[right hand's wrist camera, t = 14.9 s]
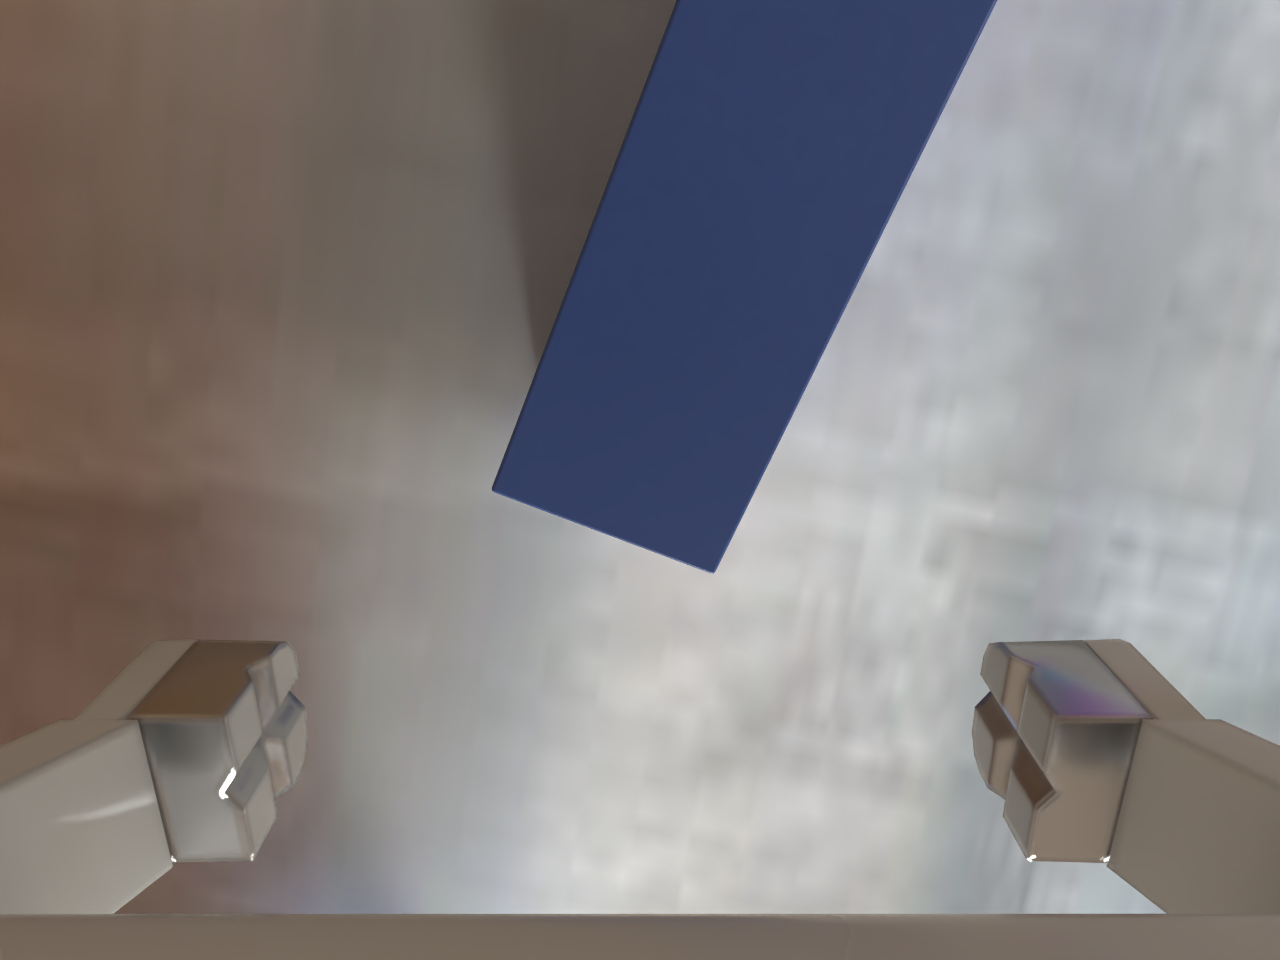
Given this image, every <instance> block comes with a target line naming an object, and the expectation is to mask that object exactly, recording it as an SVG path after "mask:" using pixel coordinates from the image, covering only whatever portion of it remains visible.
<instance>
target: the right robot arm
mask: <svg viewBox="0 0 1280 960" xmlns="http://www.w3.org/2000/svg"><path fill="white" fill-rule="evenodd" d="M299 675H300V673H299V668H298V663H297V658H296V653H295V649H294V648H293V647H292V646H291V645H290V644H289V643H288V642H287V641H241V640H199V639H178V640H159V641H153V642H151V643H150V644H149V645H148V646H147V647H146V648H145V649H144V650H143V651H142V652H141V653H140V654H139V655H138V656H137V657H136V658H135V659H134V660H133V661H132V662H131V663H130V664H129V665H128V666H127V667H126V668H125V669H124V670H123V671H122V672H121V673H120V674H119V675H118V676H117V677H116V678H115V679H114V680H113V681H112V682H111V683H110V684H109V685H108V686H107V687H106V688H105V689H104V690H103V691H102V692H101V693H100V694H99V695H98V696H97V697H96V698H95V699H94V700H93V701H92V702H91V703H90V704H89V705H88V706H87V707H86V708H85V709H84V710H83V711H82V712H81V713H80V714H79V715H78V716H77V717H76V718H75V719H69V720H58V721H55V722H53V723H51V724H49V725H46V726H44V727H42V728H40V729H37V730H35V731H33V732H31V733H28V734H26V735H24V736H22V737H19V738H17V739H15V740H13V741H10V742H8V743H6V744H3V745H1V746H0V960H1280V746H1279V745H1276V744H1274V743H1272V742H1270V741H1267V740H1265V739H1263V738H1261V737H1258V736H1256V735H1254V734H1252V733H1249V732H1247V731H1245V730H1243V729H1240V728H1238V727H1236V726H1234V725H1231V724H1229V723H1227V722H1225V721H1222V720H1211V719H1205V718H1204V717H1203V716H1202V715H1201V714H1200V713H1199V712H1198V711H1197V710H1196V709H1195V708H1194V707H1193V706H1192V705H1191V704H1190V703H1189V702H1188V701H1187V700H1186V699H1185V698H1184V697H1183V696H1182V695H1181V694H1180V693H1179V692H1178V691H1177V690H1176V689H1175V688H1174V687H1173V686H1172V685H1171V684H1170V683H1169V682H1168V681H1167V680H1166V679H1165V678H1164V677H1163V676H1162V675H1161V674H1160V673H1159V672H1158V671H1157V670H1156V669H1155V668H1154V667H1153V666H1152V665H1151V664H1150V663H1149V662H1148V661H1147V660H1146V659H1145V658H1144V657H1143V656H1142V655H1141V653H1140V652H1139V651H1138V650H1137V649H1136V648H1135V647H1134V646H1133V645H1132V644H1131V643H1129V642H1126V641H1123V640H1121V639H1101V640H1072V641H1031V642H997V643H989V645H988V647H987V649H986V651H985V654H984V656H983V662H982V667H981V673H980V675H981V676H982V678H983V679H984V681H985V683H986V684H987V686H988V687H989V689H990V692H989V693H988V694H987V695H986V696H985V697H984V698H983V699H982V700H981V701H980V702H979V703H978V704H977V705H976V706H975V711H974V720H973V728H972V737H973V747H974V756H975V759H976V763H977V766H978V769H979V772H980V774H981V776H982V778H983V780H984V782H985V784H986V786H987V788H988V789H990V790H991V791H993V792H994V793H996V794H997V795H999V796H1001V797H1002V798H1004V799H1005V805H1004V811H1003V818H1004V819H1005V821H1006V823H1007V825H1008V827H1009V829H1010V830H1011V832H1012V834H1013V836H1014V838H1015V839H1016V841H1017V843H1018V845H1019V847H1020V849H1021V850H1022V852H1023V854H1024V856H1025V858H1026V859H1027V861H1055V862H1092V863H1108V864H1107V867H1108V868H1109V869H1111V870H1112V871H1113V872H1115V873H1116V874H1117V875H1118V876H1120V877H1121V878H1122V879H1123V880H1125V881H1126V882H1127V883H1129V884H1130V885H1131V886H1132V887H1134V888H1135V889H1136V890H1137V891H1139V892H1140V893H1141V894H1143V895H1144V896H1145V897H1146V898H1148V899H1149V900H1150V901H1151V902H1153V903H1154V904H1155V905H1157V906H1158V907H1159V908H1160V909H1162V910H1163V911H1164V912H1166V913H1167V914H113V913H115V912H116V911H117V910H119V909H120V908H121V907H122V906H124V905H125V904H126V903H128V902H129V901H130V900H131V899H133V898H134V897H135V896H136V895H138V894H139V893H140V892H142V891H143V890H144V889H145V888H147V887H148V886H149V885H151V884H152V883H153V882H154V881H156V880H157V879H158V878H159V877H161V876H162V875H163V874H165V873H166V872H167V871H168V870H170V869H171V868H172V867H173V864H172V863H188V862H223V861H253V860H254V858H255V856H256V854H257V852H258V851H259V849H260V847H261V845H262V843H263V841H264V840H265V838H266V836H267V834H268V832H269V830H270V829H271V827H272V825H273V823H274V821H275V819H276V818H277V811H276V805H275V799H276V798H278V797H279V796H281V795H283V794H284V793H286V792H287V791H289V790H290V789H292V788H293V786H294V784H295V782H296V780H297V778H298V776H299V774H300V772H301V770H302V766H303V762H304V758H305V753H306V749H307V731H308V724H307V718H306V711H305V706H304V705H303V704H302V703H301V702H300V701H299V700H298V699H297V698H296V697H295V696H294V695H293V694H292V693H291V692H290V689H291V687H292V686H293V684H294V683H295V681H296V679H297V678H298V676H299Z"/></svg>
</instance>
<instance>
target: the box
mask: <svg viewBox="0 0 1280 960" xmlns="http://www.w3.org/2000/svg"><path fill="white" fill-rule="evenodd" d="M996 2H997V0H677V1H676V4H675V7H674V9H673V12H672V15H671V17H670V20H669V23H668V25H667V28H666V30H665V33H664V36H663V38H662V41H661V44H660V46H659V49H658V51H657V54H656V57H655V59H654V62H653V65H652V67H651V70H650V73H649V75H648V78H647V80H646V83H645V86H644V88H643V91H642V94H641V96H640V99H639V102H638V104H637V107H636V109H635V112H634V115H633V117H632V120H631V123H630V125H629V128H628V131H627V133H626V136H625V138H624V141H623V144H622V146H621V149H620V152H619V154H618V157H617V160H616V162H615V165H614V167H613V170H612V173H611V175H610V178H609V181H608V183H607V186H606V188H605V191H604V194H603V196H602V199H601V202H600V204H599V207H598V210H597V212H596V215H595V217H594V220H593V223H592V225H591V228H590V231H589V233H588V236H587V239H586V241H585V244H584V246H583V249H582V252H581V254H580V257H579V260H578V262H577V265H576V268H575V270H574V273H573V275H572V278H571V281H570V283H569V286H568V289H567V291H566V294H565V296H564V299H563V302H562V304H561V307H560V310H559V312H558V315H557V318H556V320H555V323H554V325H553V328H552V331H551V333H550V336H549V339H548V341H547V344H546V347H545V349H544V352H543V354H542V357H541V360H540V362H539V365H538V368H537V370H536V373H535V376H534V378H533V381H532V383H531V386H530V389H529V391H528V394H527V397H526V399H525V402H524V405H523V407H522V410H521V412H520V415H519V418H518V420H517V423H516V426H515V428H514V431H513V433H512V436H511V439H510V441H509V444H508V447H507V449H506V452H505V455H504V457H503V460H502V462H501V465H500V468H499V470H498V473H497V476H496V478H495V481H494V484H493V486H492V491H494V492H495V493H498V494H501V495H503V496H506V497H509V498H511V499H514V500H517V501H519V502H522V503H525V504H527V505H530V506H533V507H535V508H538V509H541V510H543V511H546V512H549V513H551V514H554V515H557V516H559V517H562V518H565V519H567V520H570V521H573V522H575V523H578V524H581V525H583V526H586V527H589V528H591V529H594V530H597V531H599V532H602V533H605V534H607V535H610V536H613V537H615V538H618V539H621V540H623V541H626V542H629V543H631V544H634V545H637V546H639V547H642V548H645V549H647V550H650V551H653V552H655V553H658V554H661V555H663V556H666V557H669V558H671V559H674V560H677V561H679V562H682V563H685V564H687V565H690V566H693V567H695V568H698V569H701V570H703V571H706V572H709V573H712V574H713V573H714V572H715V571H716V569H717V567H718V565H719V563H720V561H721V559H722V557H723V555H724V553H725V551H726V549H727V547H728V545H729V543H730V541H731V539H732V537H733V535H734V533H735V531H736V529H737V527H738V525H739V522H740V520H741V518H742V516H743V514H744V512H745V510H746V508H747V506H748V504H749V502H750V500H751V498H752V496H753V494H754V492H755V490H756V488H757V486H758V484H759V482H760V480H761V478H762V476H763V474H764V472H765V470H766V468H767V466H768V464H769V462H770V460H771V458H772V456H773V454H774V452H775V450H776V448H777V445H778V443H779V441H780V439H781V437H782V435H783V433H784V431H785V429H786V427H787V425H788V423H789V421H790V419H791V417H792V415H793V413H794V411H795V409H796V407H797V405H798V403H799V401H800V399H801V397H802V395H803V393H804V391H805V389H806V387H807V385H808V383H809V381H810V379H811V377H812V375H813V373H814V371H815V368H816V366H817V364H818V362H819V360H820V358H821V356H822V354H823V352H824V350H825V348H826V346H827V344H828V342H829V340H830V338H831V336H832V334H833V332H834V330H835V328H836V326H837V324H838V322H839V320H840V318H841V316H842V314H843V312H844V310H845V308H846V306H847V304H848V302H849V300H850V298H851V296H852V294H853V291H854V289H855V287H856V285H857V283H858V281H859V279H860V277H861V275H862V273H863V271H864V269H865V267H866V265H867V263H868V261H869V259H870V257H871V255H872V253H873V251H874V249H875V247H876V245H877V243H878V241H879V239H880V237H881V235H882V233H883V231H884V229H885V227H886V225H887V223H888V221H889V219H890V217H891V214H892V212H893V210H894V208H895V206H896V204H897V202H898V200H899V198H900V196H901V194H902V192H903V190H904V188H905V186H906V184H907V182H908V180H909V178H910V176H911V174H912V172H913V170H914V168H915V166H916V164H917V162H918V160H919V158H920V156H921V154H922V152H923V150H924V148H925V146H926V144H927V142H928V140H929V137H930V135H931V133H932V131H933V129H934V127H935V125H936V123H937V121H938V119H939V117H940V115H941V113H942V111H943V109H944V107H945V105H946V103H947V101H948V99H949V97H950V95H951V93H952V91H953V89H954V87H955V85H956V83H957V81H958V79H959V77H960V75H961V73H962V71H963V69H964V67H965V65H966V63H967V61H968V58H969V56H970V54H971V52H972V50H973V48H974V46H975V44H976V42H977V40H978V38H979V36H980V34H981V32H982V30H983V28H984V26H985V24H986V22H987V20H988V18H989V16H990V14H991V12H992V10H993V8H994V6H995V4H996Z"/></svg>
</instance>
